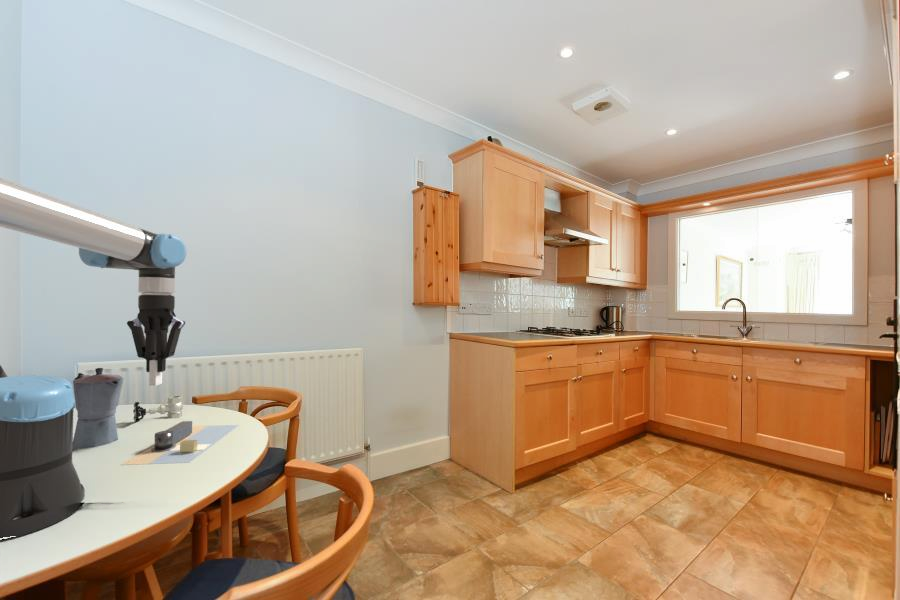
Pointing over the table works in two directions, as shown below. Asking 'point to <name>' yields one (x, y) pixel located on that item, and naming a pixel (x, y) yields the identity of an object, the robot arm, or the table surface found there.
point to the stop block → (188, 446)
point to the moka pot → (96, 409)
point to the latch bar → (172, 435)
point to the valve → (161, 409)
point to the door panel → (202, 434)
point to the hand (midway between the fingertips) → (155, 384)
